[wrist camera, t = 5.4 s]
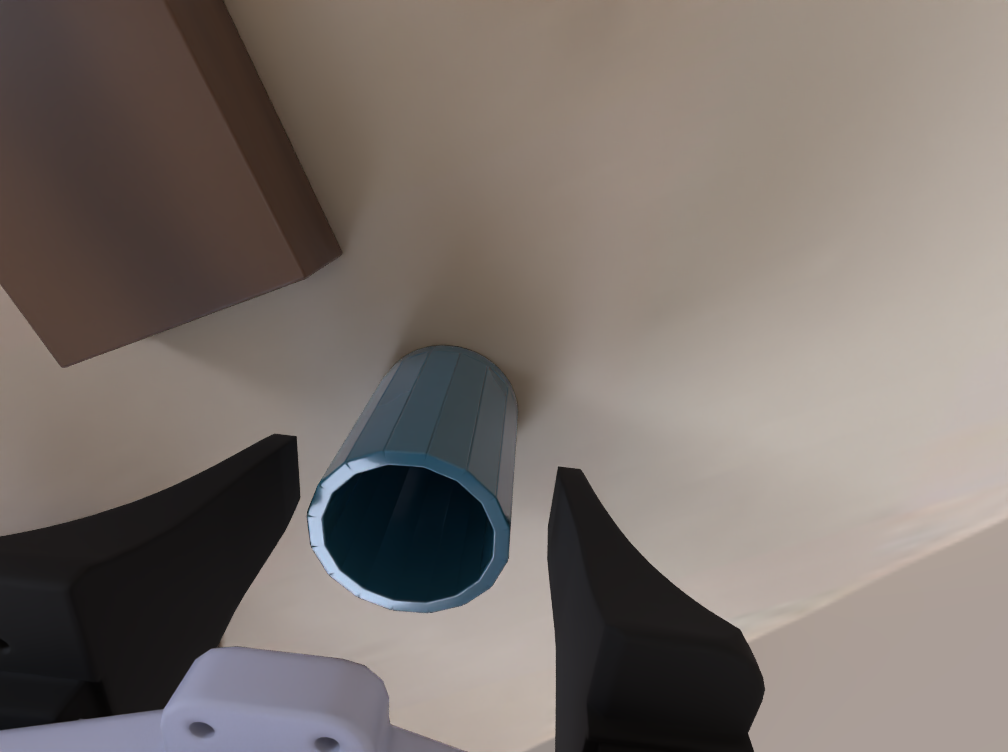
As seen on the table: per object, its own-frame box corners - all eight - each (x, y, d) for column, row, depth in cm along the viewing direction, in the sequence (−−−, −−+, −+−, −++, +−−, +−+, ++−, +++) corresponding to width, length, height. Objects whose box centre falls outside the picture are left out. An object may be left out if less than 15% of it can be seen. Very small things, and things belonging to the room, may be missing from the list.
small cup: (412, 482, 20) (361, 629, 14) (355, 369, 19) (269, 483, 13) (536, 448, 19) (536, 589, 13) (488, 325, 18) (464, 426, 12)
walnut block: (131, 333, 18) (60, 370, 16) (-38, 78, 15) (-161, 67, 13) (344, 254, 17) (306, 279, 14) (202, -45, 14) (121, -87, 11)
